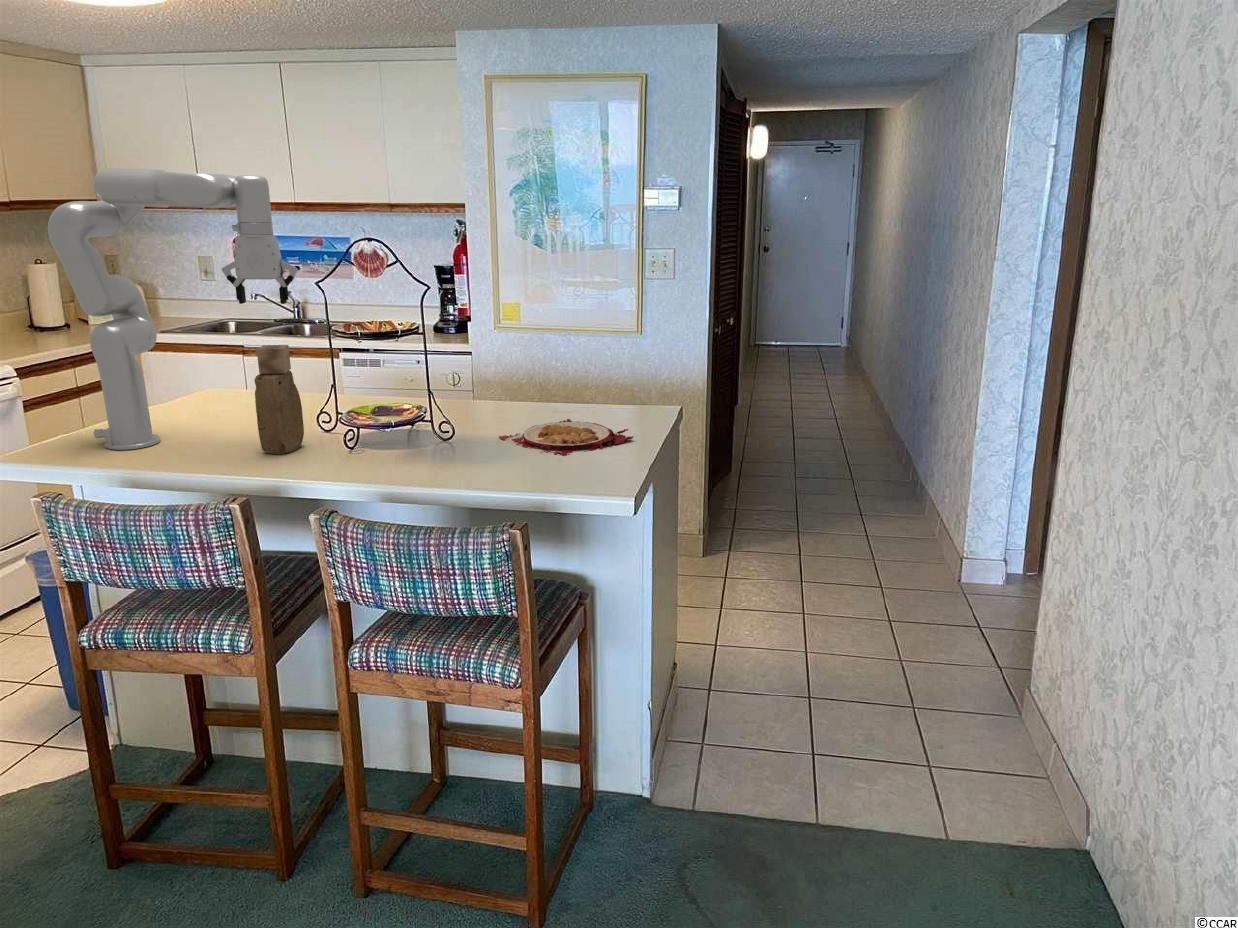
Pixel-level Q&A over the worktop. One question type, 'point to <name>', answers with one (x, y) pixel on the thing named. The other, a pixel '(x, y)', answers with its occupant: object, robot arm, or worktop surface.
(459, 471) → the worktop surface
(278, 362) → the cube
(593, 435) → the plate with food
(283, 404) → the block
